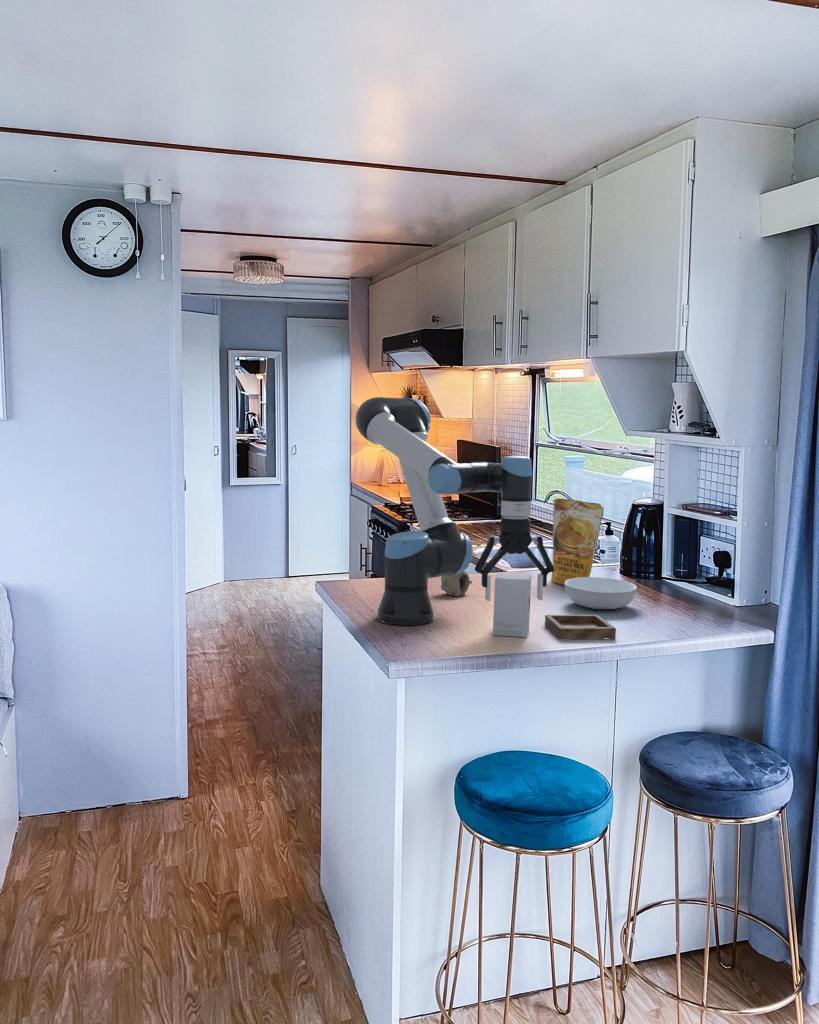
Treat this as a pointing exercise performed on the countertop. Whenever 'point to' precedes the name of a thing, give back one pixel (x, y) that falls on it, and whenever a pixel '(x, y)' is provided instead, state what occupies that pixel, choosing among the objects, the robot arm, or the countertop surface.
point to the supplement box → (512, 604)
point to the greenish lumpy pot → (455, 584)
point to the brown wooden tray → (579, 627)
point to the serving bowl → (600, 592)
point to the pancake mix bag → (574, 538)
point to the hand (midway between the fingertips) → (513, 599)
